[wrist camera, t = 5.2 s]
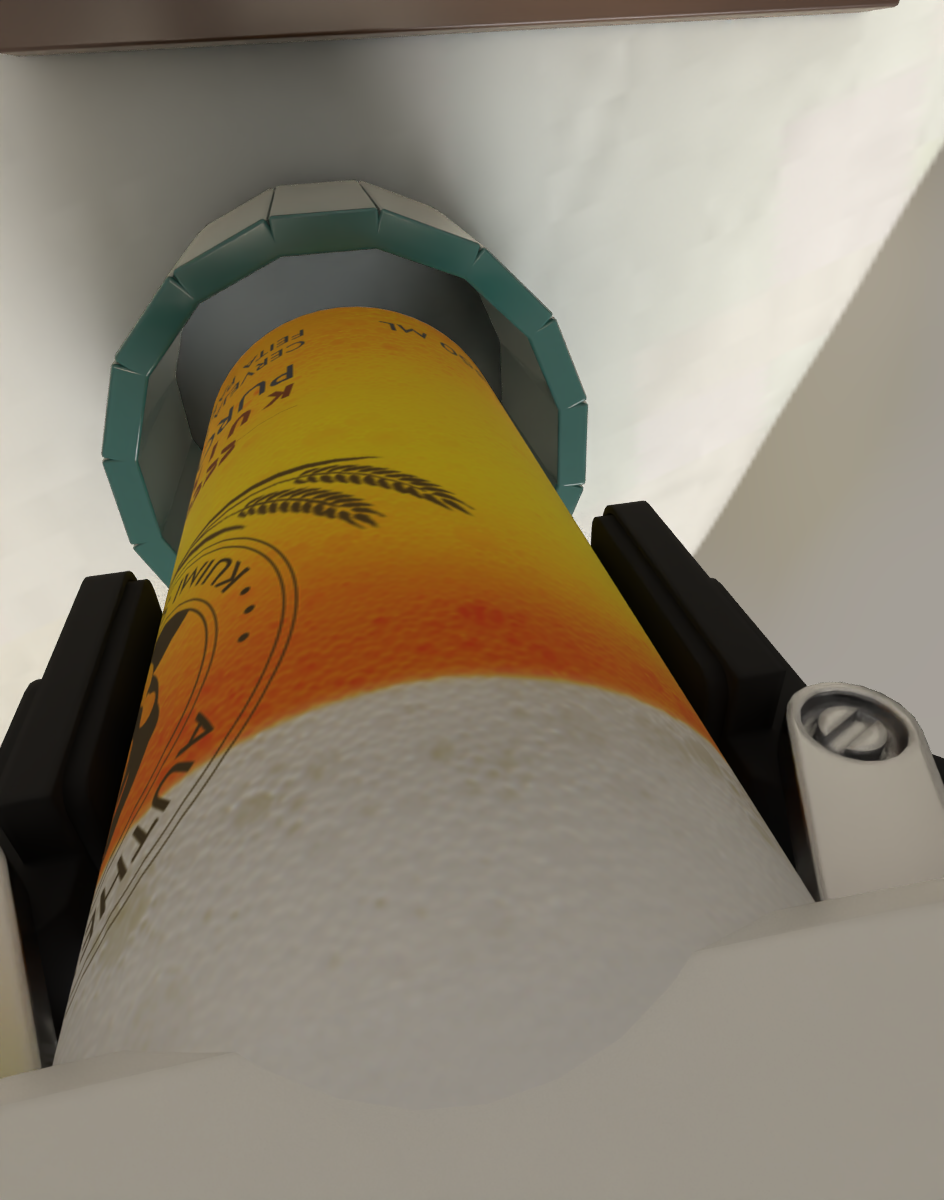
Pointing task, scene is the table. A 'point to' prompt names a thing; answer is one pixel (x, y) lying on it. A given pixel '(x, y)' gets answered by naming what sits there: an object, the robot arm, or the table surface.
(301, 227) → the crock
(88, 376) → the table surface
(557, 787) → the beer can
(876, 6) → the board
